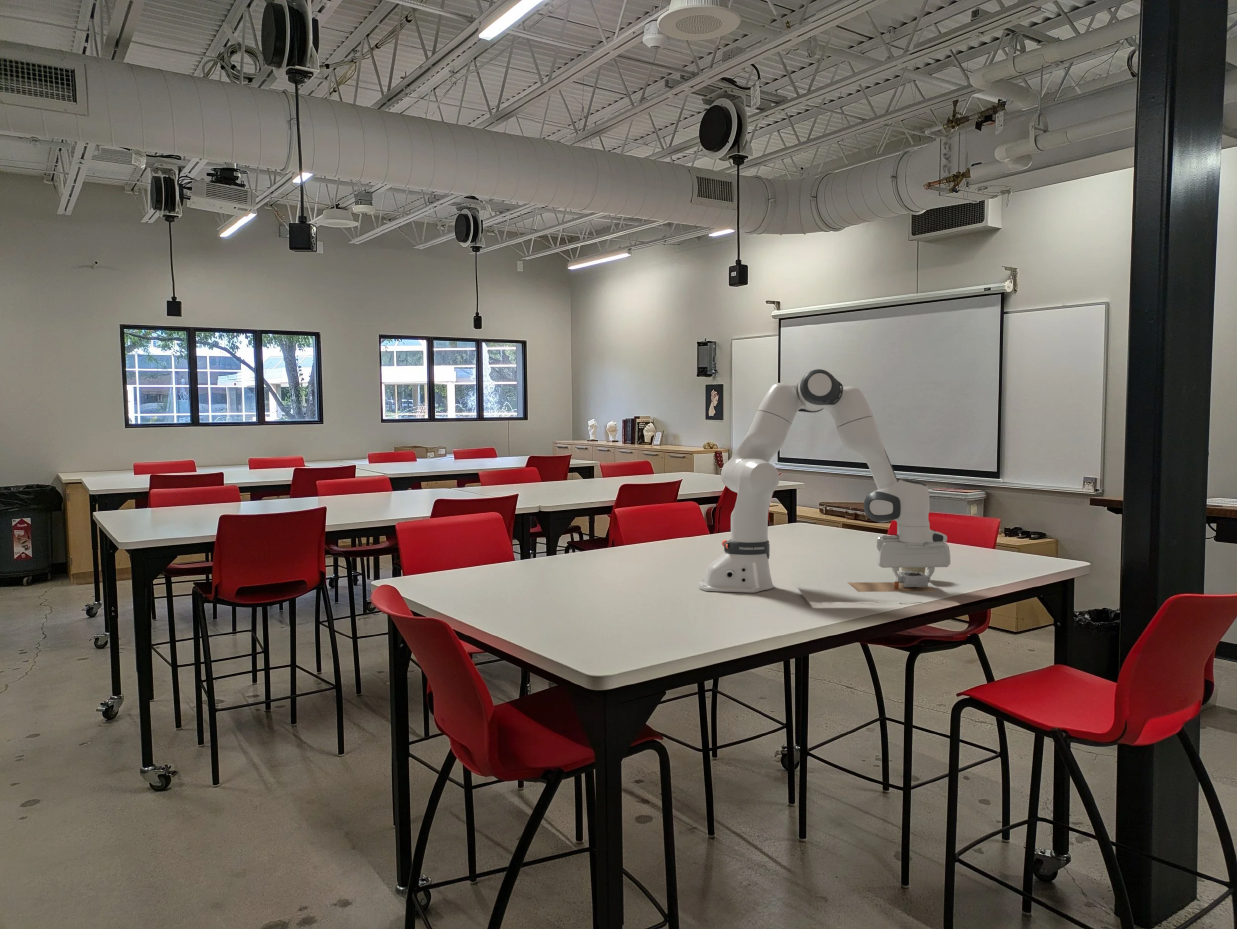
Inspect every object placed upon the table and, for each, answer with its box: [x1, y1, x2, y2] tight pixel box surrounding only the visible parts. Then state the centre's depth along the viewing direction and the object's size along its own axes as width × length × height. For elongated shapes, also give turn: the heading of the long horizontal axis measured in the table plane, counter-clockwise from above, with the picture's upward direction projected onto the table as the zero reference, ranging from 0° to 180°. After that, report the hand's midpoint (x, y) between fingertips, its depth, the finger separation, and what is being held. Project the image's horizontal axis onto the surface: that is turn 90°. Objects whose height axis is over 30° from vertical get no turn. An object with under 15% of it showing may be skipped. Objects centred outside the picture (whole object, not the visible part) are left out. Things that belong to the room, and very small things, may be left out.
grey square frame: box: [898, 570, 929, 587], centre depth 237 cm, size 10×6×3 cm, turn 176°
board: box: [847, 572, 937, 593], centre depth 236 cm, size 22×13×6 cm, turn 87°
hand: (913, 582), depth 235 cm, fingers closed on grey square frame, 6 cm apart
